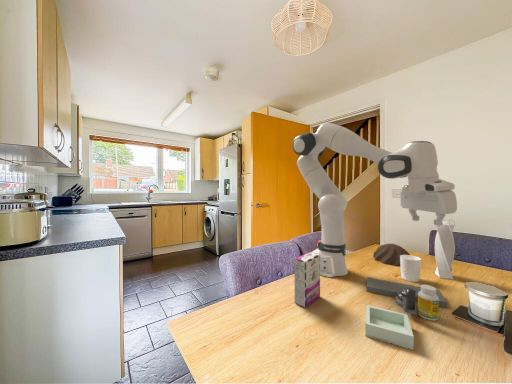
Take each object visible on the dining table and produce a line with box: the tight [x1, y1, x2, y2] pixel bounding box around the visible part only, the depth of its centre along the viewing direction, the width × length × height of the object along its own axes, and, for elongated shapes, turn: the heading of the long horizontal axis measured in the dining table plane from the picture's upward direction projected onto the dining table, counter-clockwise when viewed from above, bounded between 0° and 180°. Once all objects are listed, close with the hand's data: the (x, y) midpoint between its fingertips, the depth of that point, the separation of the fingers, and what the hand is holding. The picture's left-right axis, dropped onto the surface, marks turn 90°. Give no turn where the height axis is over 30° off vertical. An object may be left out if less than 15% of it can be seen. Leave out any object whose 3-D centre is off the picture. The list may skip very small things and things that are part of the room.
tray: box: [365, 304, 415, 351], centre depth 62 cm, size 11×11×4 cm
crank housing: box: [366, 277, 448, 309], centre depth 82 cm, size 25×17×2 cm
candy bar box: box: [293, 251, 321, 309], centre depth 79 cm, size 11×5×16 cm, turn 138°
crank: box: [397, 288, 417, 315], centre depth 73 cm, size 14×5×8 cm, turn 152°
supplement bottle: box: [417, 284, 440, 322], centre depth 70 cm, size 5×5×10 cm
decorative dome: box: [372, 243, 411, 267], centre depth 123 cm, size 19×20×10 cm
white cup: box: [399, 254, 422, 283], centre depth 98 cm, size 8×8×10 cm
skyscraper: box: [432, 219, 459, 281], centre depth 101 cm, size 8×8×28 cm
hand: (426, 222), depth 78 cm, fingers open, 8 cm apart
